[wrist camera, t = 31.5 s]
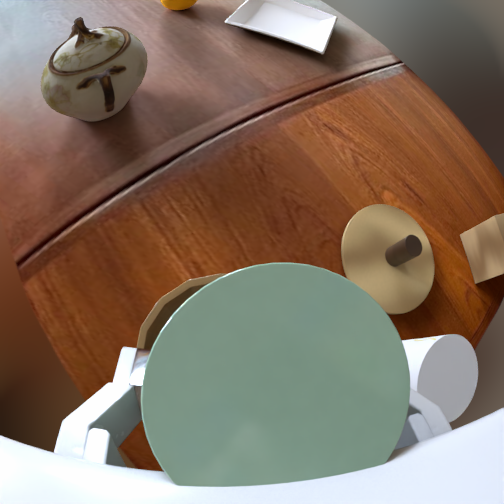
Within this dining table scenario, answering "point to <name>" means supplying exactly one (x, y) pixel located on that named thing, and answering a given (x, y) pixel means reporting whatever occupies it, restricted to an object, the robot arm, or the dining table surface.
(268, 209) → the dining table surface
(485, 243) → the stand
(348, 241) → the basket lid
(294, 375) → the canister
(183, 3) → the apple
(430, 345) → the white cylinder
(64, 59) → the sugar bowl
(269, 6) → the plate
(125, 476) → the robot arm
